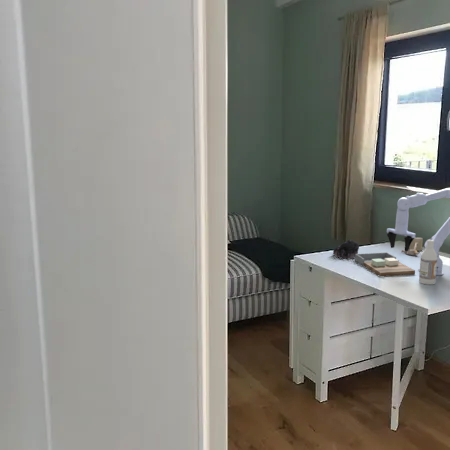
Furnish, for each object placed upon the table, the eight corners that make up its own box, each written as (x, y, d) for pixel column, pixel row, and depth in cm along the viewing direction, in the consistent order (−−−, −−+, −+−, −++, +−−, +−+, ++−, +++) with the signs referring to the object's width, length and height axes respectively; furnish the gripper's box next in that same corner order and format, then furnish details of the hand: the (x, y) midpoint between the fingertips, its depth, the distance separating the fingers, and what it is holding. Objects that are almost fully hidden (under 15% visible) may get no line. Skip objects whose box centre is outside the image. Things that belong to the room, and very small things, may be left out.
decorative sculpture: (418, 257, 277) (419, 244, 276) (399, 254, 282) (400, 242, 280) (422, 250, 291) (423, 237, 289) (404, 248, 296) (405, 235, 294)
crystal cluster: (328, 256, 282) (328, 239, 279) (346, 250, 288) (347, 234, 285) (344, 263, 271) (345, 246, 268) (363, 258, 277) (364, 240, 274)
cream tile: (398, 265, 255) (398, 260, 254) (389, 265, 254) (389, 261, 253) (393, 262, 260) (393, 257, 259) (384, 263, 259) (384, 258, 258)
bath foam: (432, 286, 230) (436, 242, 226) (417, 283, 234) (420, 240, 230) (436, 282, 236) (440, 239, 231) (421, 279, 240) (424, 237, 235)
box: (395, 263, 264) (396, 257, 263) (363, 265, 261) (363, 259, 260) (386, 258, 274) (387, 252, 273) (354, 260, 270) (355, 254, 270)
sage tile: (385, 266, 253) (385, 261, 253) (375, 266, 253) (376, 261, 252) (380, 263, 258) (380, 258, 258) (371, 263, 257) (371, 259, 257)
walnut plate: (414, 274, 247) (415, 270, 246) (380, 276, 243) (380, 272, 243) (396, 263, 264) (396, 260, 264) (363, 265, 261) (363, 262, 260)
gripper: (420, 223, 247) (417, 250, 250) (393, 218, 258) (390, 244, 261) (412, 225, 242) (409, 253, 245) (385, 220, 253) (382, 247, 256)
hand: (399, 249), depth 253 cm, fingers open, 7 cm apart
